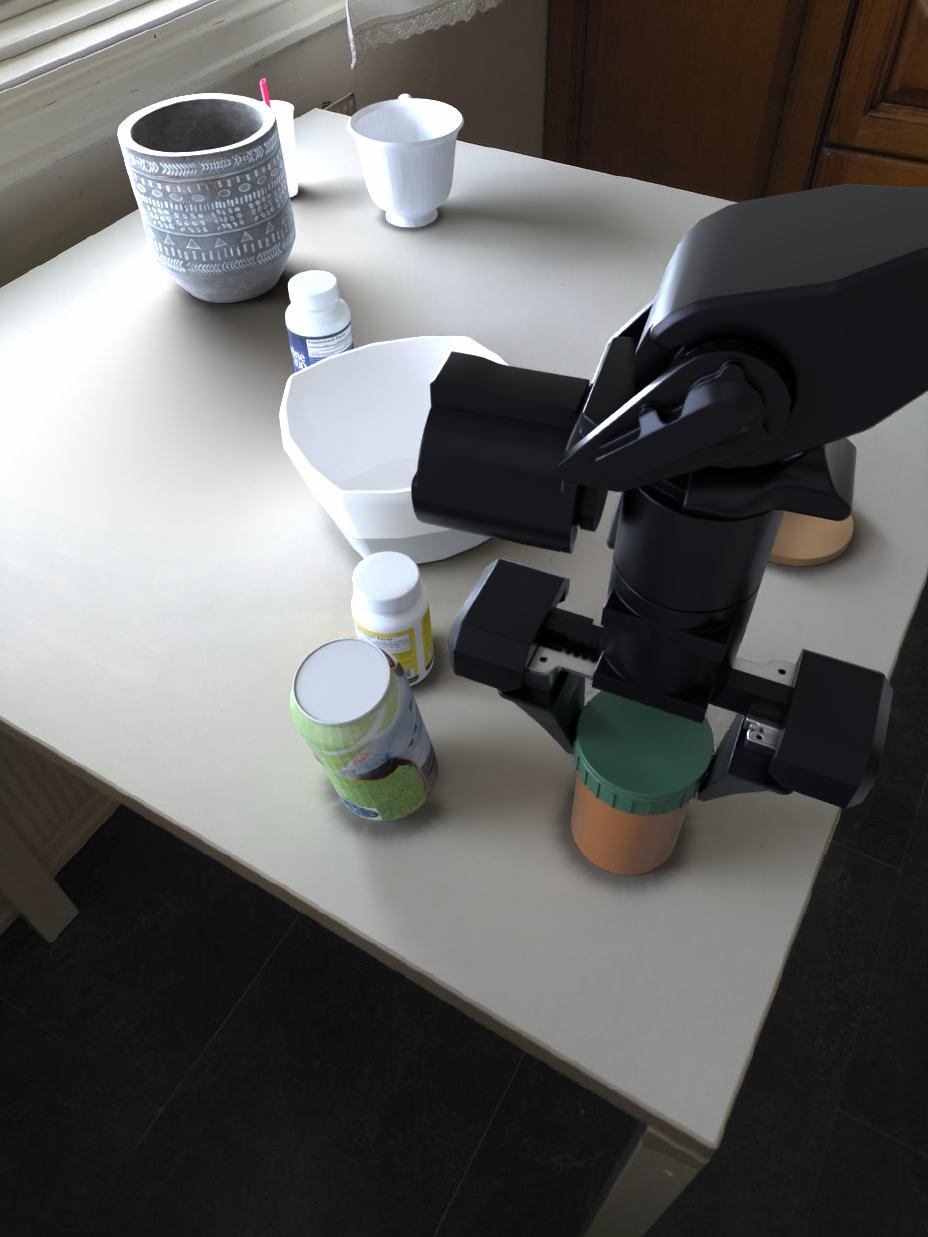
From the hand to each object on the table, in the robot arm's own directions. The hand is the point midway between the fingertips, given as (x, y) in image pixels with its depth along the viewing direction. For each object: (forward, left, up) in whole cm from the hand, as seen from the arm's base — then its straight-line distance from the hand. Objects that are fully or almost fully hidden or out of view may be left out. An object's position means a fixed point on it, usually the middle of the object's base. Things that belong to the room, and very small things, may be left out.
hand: (637, 769), depth 47 cm
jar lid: (0, 0, +3) cm, 3 cm away
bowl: (+22, -20, -6) cm, 30 cm away
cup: (+59, -64, -6) cm, 87 cm away
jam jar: (0, 0, -6) cm, 6 cm away
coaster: (-5, -28, -6) cm, 29 cm away
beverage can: (+14, +3, -6) cm, 16 cm away
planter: (+54, -45, -6) cm, 71 cm away
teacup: (+43, -65, -6) cm, 78 cm away
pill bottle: (+36, -32, -6) cm, 49 cm away
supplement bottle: (+17, -6, -6) cm, 19 cm away
